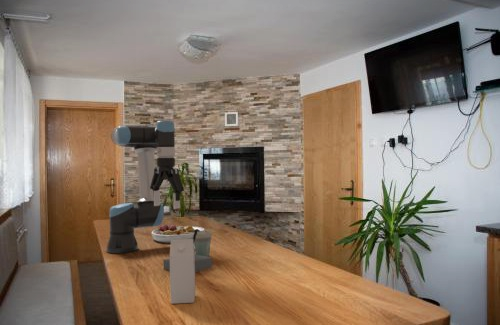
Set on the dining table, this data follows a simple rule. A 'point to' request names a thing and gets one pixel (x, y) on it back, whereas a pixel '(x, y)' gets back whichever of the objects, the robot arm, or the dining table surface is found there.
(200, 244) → the coffee cup
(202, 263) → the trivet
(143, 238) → the dining table surface
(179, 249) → the milk carton
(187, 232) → the bowl
